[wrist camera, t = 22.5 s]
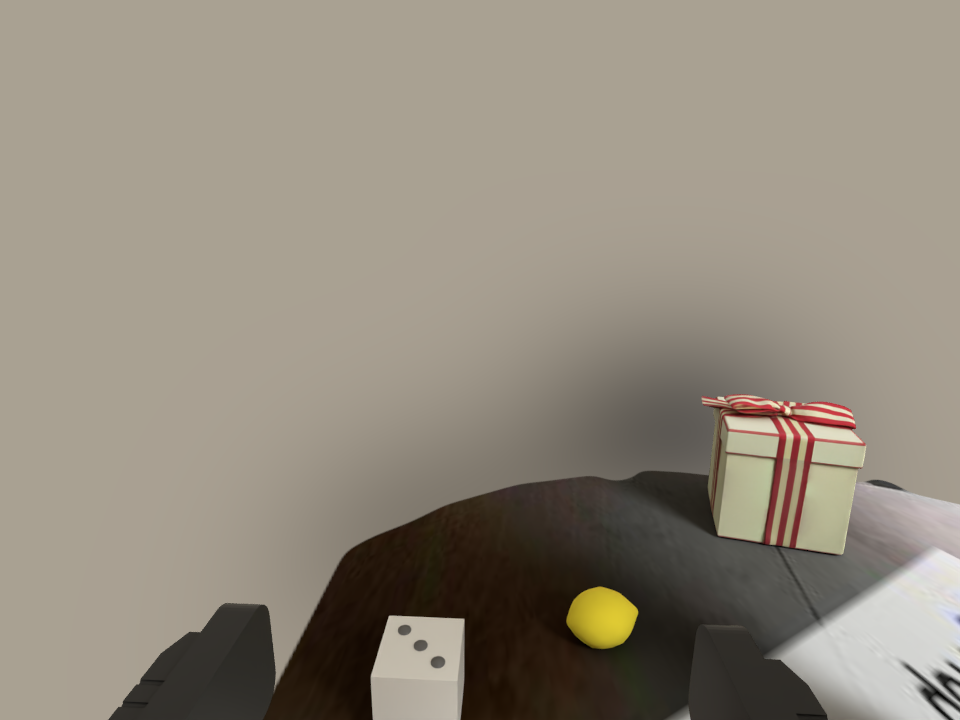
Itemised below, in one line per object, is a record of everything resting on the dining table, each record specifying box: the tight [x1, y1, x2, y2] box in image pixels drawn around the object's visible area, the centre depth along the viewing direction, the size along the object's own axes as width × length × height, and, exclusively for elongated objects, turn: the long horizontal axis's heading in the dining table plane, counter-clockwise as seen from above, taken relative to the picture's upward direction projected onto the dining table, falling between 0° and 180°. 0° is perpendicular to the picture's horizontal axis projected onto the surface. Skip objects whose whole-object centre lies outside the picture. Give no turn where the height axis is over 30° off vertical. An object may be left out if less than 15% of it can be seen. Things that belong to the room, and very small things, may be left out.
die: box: [371, 616, 464, 720], centre depth 44 cm, size 6×6×7 cm
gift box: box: [702, 394, 866, 555], centre depth 74 cm, size 17×18×17 cm
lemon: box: [566, 587, 638, 649], centre depth 52 cm, size 7×5×5 cm
